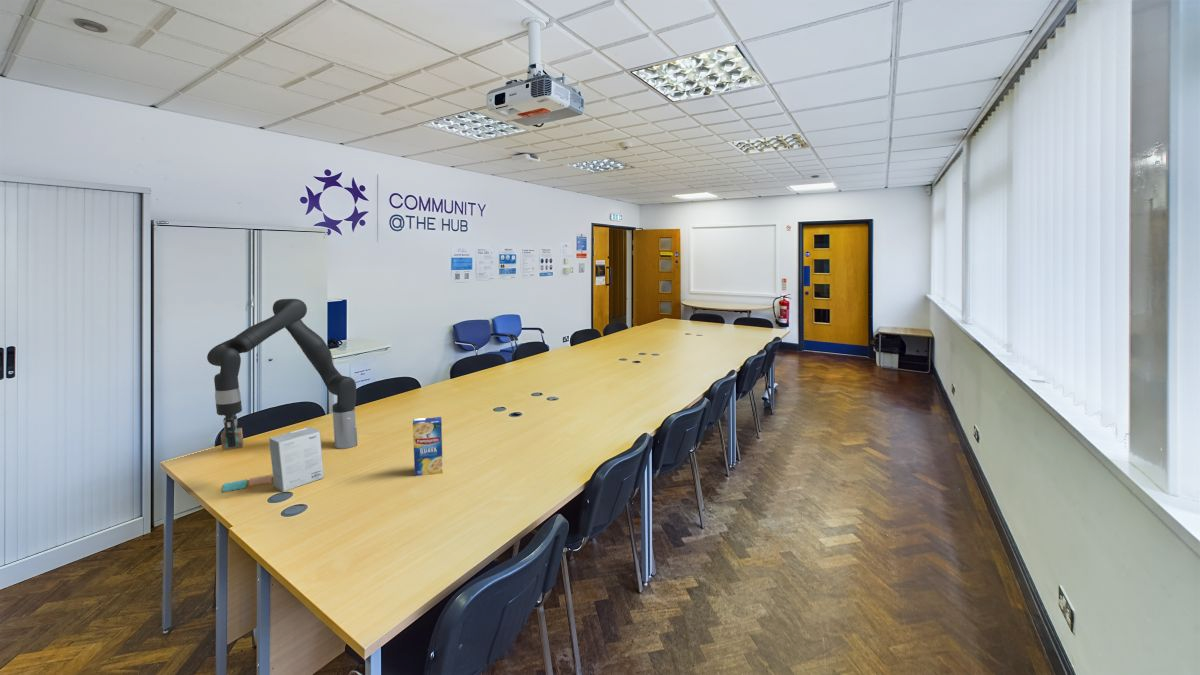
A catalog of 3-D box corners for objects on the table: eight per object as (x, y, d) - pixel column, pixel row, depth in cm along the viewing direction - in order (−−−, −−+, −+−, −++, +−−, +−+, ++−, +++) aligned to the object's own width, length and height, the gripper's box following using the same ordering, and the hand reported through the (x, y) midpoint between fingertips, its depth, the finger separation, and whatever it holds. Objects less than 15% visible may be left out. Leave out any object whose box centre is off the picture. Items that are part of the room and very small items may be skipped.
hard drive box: (315, 473, 201) (311, 426, 198) (324, 478, 197) (321, 430, 194) (272, 487, 188) (268, 437, 185) (282, 492, 184) (277, 441, 181)
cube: (243, 442, 189) (241, 427, 188) (242, 447, 184) (240, 432, 183) (223, 445, 186) (222, 430, 185) (222, 451, 181) (220, 435, 180)
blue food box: (415, 469, 207) (413, 418, 203) (443, 466, 210) (441, 416, 206) (414, 476, 200) (412, 424, 197) (442, 473, 203) (441, 422, 200)
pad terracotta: (271, 475, 198) (271, 474, 198) (270, 482, 192) (270, 481, 192) (250, 479, 194) (250, 478, 194) (248, 486, 188) (248, 485, 188)
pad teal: (246, 481, 193) (246, 479, 193) (245, 488, 187) (245, 486, 187) (224, 485, 189) (224, 483, 189) (222, 492, 183) (222, 490, 183)
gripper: (239, 404, 178) (244, 448, 181) (242, 394, 190) (246, 436, 193) (213, 407, 174) (218, 452, 177) (217, 397, 186) (222, 439, 189)
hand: (232, 443), depth 185 cm, fingers closed on cube, 6 cm apart
